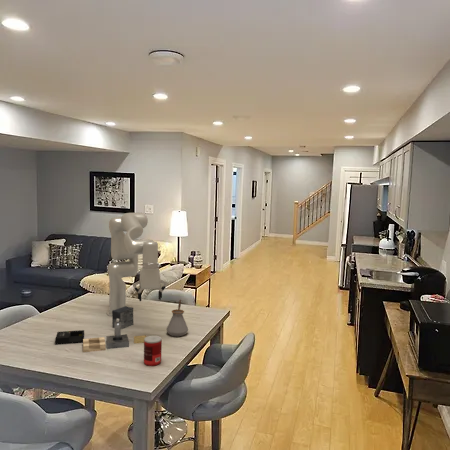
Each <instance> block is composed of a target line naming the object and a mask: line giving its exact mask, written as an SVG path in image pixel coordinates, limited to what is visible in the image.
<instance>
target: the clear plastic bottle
mask: <svg viewBox="0 0 450 450" xmlns="http://www.w3.org/2000/svg"><path fill="white" fill-rule="evenodd" d="M113 332H114V335H113V336H114V341H116V340H121V335H122V329H121V322H119V318H117V319H116V322H115V328H114V330H113Z"/></svg>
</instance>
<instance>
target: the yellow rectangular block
mask: <svg viewBox="0 0 450 450" xmlns="http://www.w3.org/2000/svg"><path fill="white" fill-rule="evenodd" d="M146 337H147V335H146V334H144V335H135V336H133V343H134V344H144V338H146Z"/></svg>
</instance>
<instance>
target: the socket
mask: <svg viewBox="0 0 450 450" xmlns="http://www.w3.org/2000/svg"><path fill="white" fill-rule="evenodd" d="M105 343H106V347H107V350H110V349H111V350H112V349H123V348H129V347H130V340H129V338H128V334H121V340H116V341H114V335H106V338H105Z"/></svg>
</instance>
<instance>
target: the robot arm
mask: <svg viewBox="0 0 450 450" xmlns="http://www.w3.org/2000/svg"><path fill="white" fill-rule="evenodd" d="M148 223H149V222H148V217H147V215H146V213H144V212H126V213H123V214H122V216H116V217H115V216H114V217H112V218H110V219H109V221H108V229H109V230H108V231H109V233H110V236H111V238H110V239H111V240H110V241H111V243H110V255H111V259H113V260H114V261H115V262H114V261H113V262H110V264H109V265H108V266H107V272H108V279H109V294H108V295H109V301H108V302H109V305H108V307H109V309H108V310H107V311H106V315H107V316H109V317H112V311H113V310H116V309H119V308H122V307H125V306H126V305H127V303H126V299H127V298H126V297H127V296H126V295H127V294H126V293H127V289H126V288H127V284H126V282H125V281H124V280H123V278H129V277H130V278H131V277H135V276H137V274H138V270H139V255H142V268H141V269H140V272H139V280H138V281H136V282H134V283H132V287H133V289H134V291H135V292H137V300H139V302H141V301H142V291H143V290H156V289H157V290H158V297H157V298H158V300H159V301H161V300H162V299H163V298H162V297H163V292H164V290H166V287H167V286H168V282H167V281H164V279H163V280H162V279H161V271H160V268H159V267H161V265H162V264H161V263H159V243H158V242H157V241H154V240H153V239H150V238H149V239H148V238H147V239H139V237H141V236H142V235H143V233H144V229H145V228H146V227H147V226H148ZM125 232H126V233H125ZM122 260H123V261H122ZM125 260H127V261H125ZM162 284H163V285H162ZM138 285H139V288H137V286H138ZM161 285H162V287H161Z"/></svg>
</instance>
